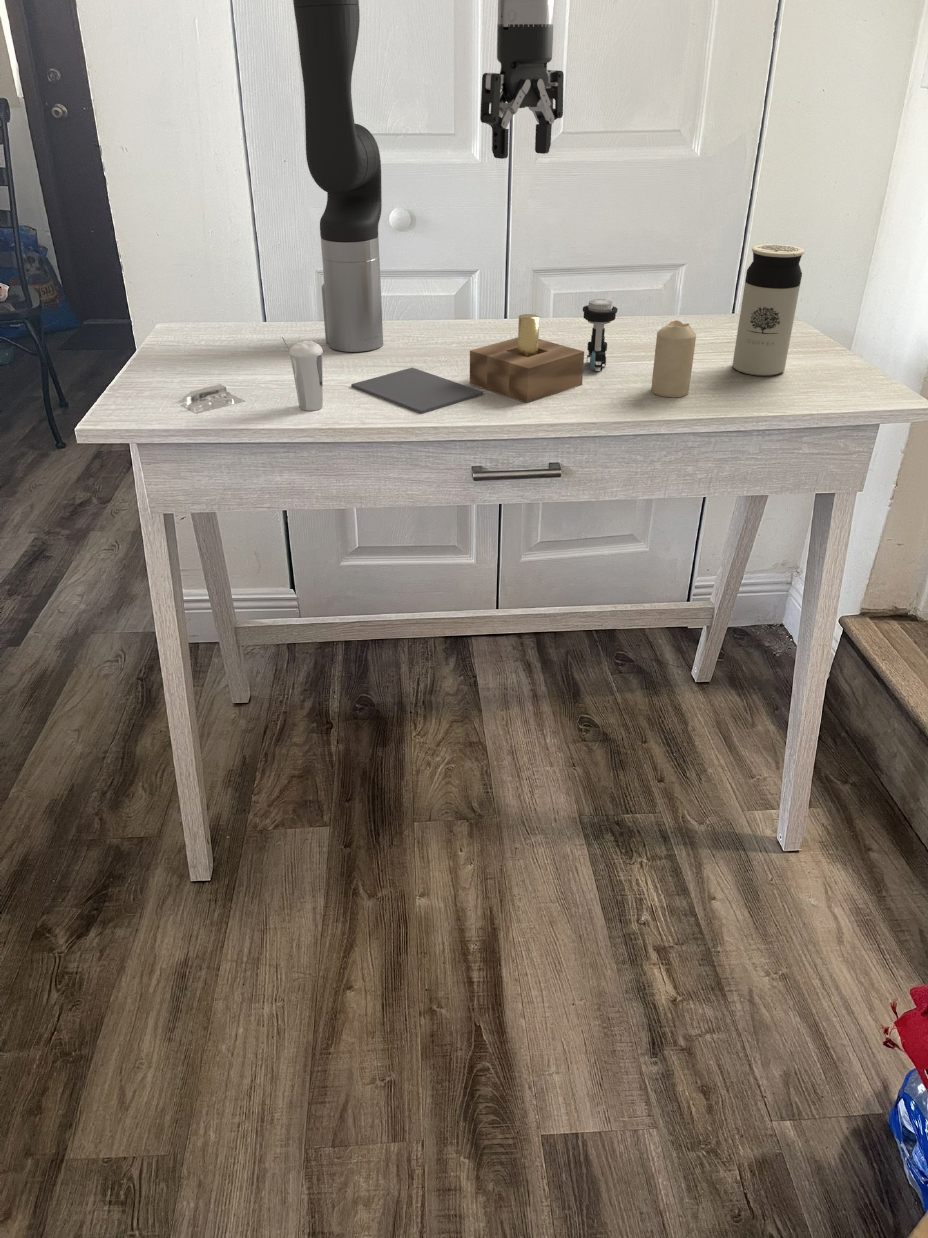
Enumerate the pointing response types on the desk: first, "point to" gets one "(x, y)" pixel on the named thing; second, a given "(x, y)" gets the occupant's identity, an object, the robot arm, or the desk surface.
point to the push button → (598, 330)
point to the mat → (417, 390)
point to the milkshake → (308, 374)
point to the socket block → (526, 369)
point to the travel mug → (768, 309)
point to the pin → (528, 335)
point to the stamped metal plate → (209, 399)
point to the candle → (673, 360)
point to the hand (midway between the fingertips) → (521, 155)
